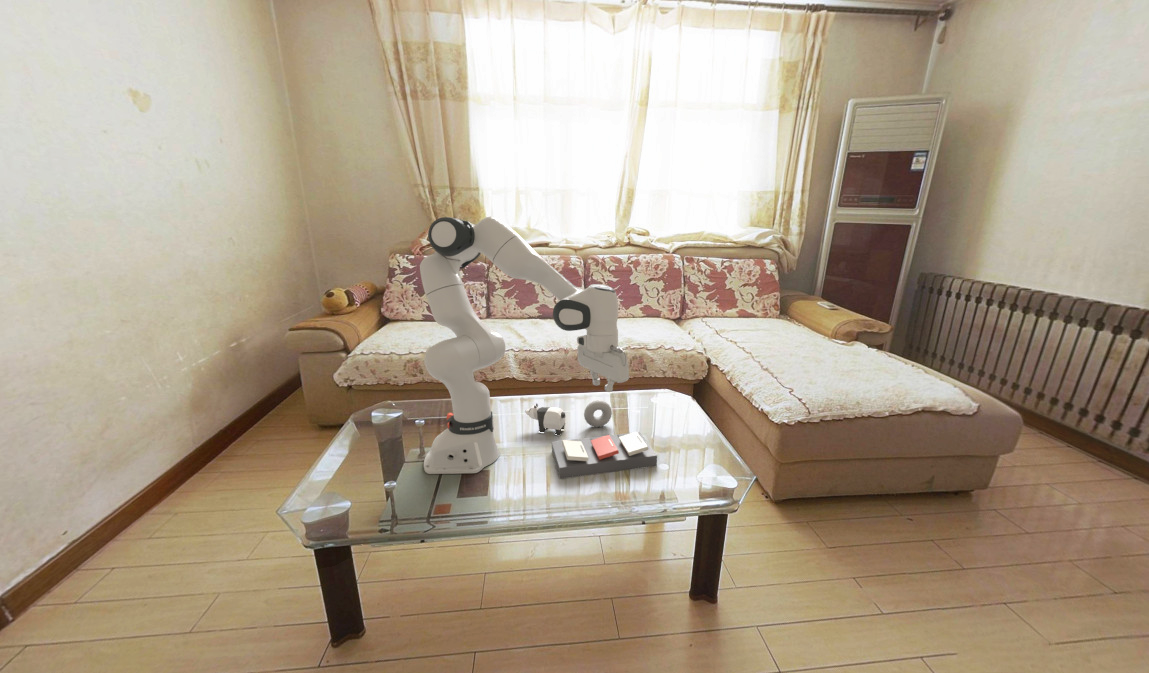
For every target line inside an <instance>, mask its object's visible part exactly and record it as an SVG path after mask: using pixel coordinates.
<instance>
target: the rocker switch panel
mask: <svg viewBox="0 0 1149 673" xmlns="http://www.w3.org/2000/svg"><path fill="white" fill-rule="evenodd" d="M637 432H638V434H639V435H640V436H641V438H642V439H643V441H644V442H645V443H646V445H647V446H648V450H646V451H643V452H640V453H637V454H634V455H631V456H629V455H628V453H627V452H626V450H625V448H624V447H623V445H622V444H621V442H620V440H619V437H620V436H624V435H627V434H630V433H631V432H628V433H627V432H626V433H617V434H609V435H610V437H611V439H612V440H613V442H614V444H615V445H616V447H617V449H618V452H619V454H616V455H613V456H610V457H606V458H603V459H600V460H599V458H598V456H597V454H596V452H595V450H594V448H593V446H592V444H591V440H593V439H596V438H600V437H603V436H604V435H602V436H593V437H584V438H575V439H569V440H570V441H581V442H582V444H583V446H584V448H585V451H586V453H587V455H588V457H589V458H588V461H577V460H567V457H566V454H565V451H564V449H563V446H562V440H557V441H551V453H552V456H553V459H554V464H555V467H556V470H557V475H558V477H559V480H561V479H562V480H564V479H570V478H574V477H575V478H576V477H577V478H578V477H585V476H591V475H593V476H594V475H599V474H606V473H616V472H623V471H630V470H638V469H644V468H653V467H658V454H657V453H656V452H655V450H654V449H653V448H652V447H651V445H650V444H649V443H648V441H647V440H646V439H645V437H644V436H643V435H642V433H641V432H640V431H637Z"/></svg>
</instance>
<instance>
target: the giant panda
mask: <svg viewBox="0 0 1149 673" xmlns="http://www.w3.org/2000/svg"><path fill="white" fill-rule="evenodd" d="M524 412H525V414H526V415H528V417H529V418H531V419H533V420H536V421H537V423H538V431H540V432H544V431H545V432H546V429H545V428H548V429H549V430H555V432H556V433H555V432H554V433H555V434H557V435H560V434H561V435H562V431H561V429H564V430H565V426H566V425H565V424H566V413H565V411H564V410H563V409H562V408H560V407H555V406H553V407H552V406H550V407H547V406H546V407H544V406H541V407H539V404H538V403H537V402H536V403H535V404H533V405H531V407H529V408H528V409H525V411H524ZM548 429H547V430H548ZM557 435H556V436H557ZM561 435H560V436H561Z"/></svg>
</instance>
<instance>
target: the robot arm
mask: <svg viewBox="0 0 1149 673" xmlns="http://www.w3.org/2000/svg"><path fill="white" fill-rule="evenodd" d="M427 238H428V242H429V244H430V246H431V247H432V249H433V250H434V253H432V254H428V255H427V256H426V257H424V258H423V259H422V260H421V262H420V264H419V274H420V278H421V283H422V287H423V292H424V294H425V297H426V299H427V302H428V306H429V309H430V311H431V313H432V314H431V315H432V316H433V317H432V318H433V319H434V321H435V322H436V323H437V324H438V325H440V326H442V327H445V328H448V329H449V330H451V331H452V332H453V334H455V336H456V337H451V338H449V339H444V340H441V341H439V342H438V343H435V344H433V345H432V346H430V347H428V348H427V350H426V352H425V354H424V360H423V362H424V366H425V369H426V372H428V374H429V376H431V377H432V378H434V379H435V380H437V381H440V382H441V383H442V384H443V385H444V386H445V388H446V389H447V390H448V392H449V393H448V394H449V395H450V401H451V406H452V412H448V413H447V415H446V426H447V428H446V429H444V430H443V431H442V432H441V433H439V434H438V435H437V436H436V437H435V438H434V440H433V442H432V443H431V447H430V450H429V451H428V452H427V453H426V454H425V457H424V461H423V471H424V472H425V473H426V474H428V475H441V474H442V475H446V474H447V475H449V474H456V475H457V474H477V473H479V472H480V471H482V470H483V469H485V467H487V466H489V465H491V464H493V463H495V461H497V460H498V459H499V457H500V451H499V448H498V445H497V443H496V442H497V441H496V438H495V434H494V428H495V425H494V415H493V411H492V409H491V408H492V407H491V396H490V390H489V389H488V386H486V385H485V384H484V383H482V382H480V381H476V379H475V376H474V372H476V371H478V370H481V369H484V368H488V367H491V366H492V365H493V364H495V363H497V362H498V361H500V360H502V358H504V356H505V354H506V342H505V339H504V338H503V337H502V335H501V333H499V332H498V331H495V330H494V329H491V328H490V327H489V326H487V325H486V324H485V323H484V322H483V321H482V320H481V319H480V317H479V316H478V315H477V313H476V312H475V310H474V308H473V306H472V304H471V301H470V298H469V297H468V296H469V295H468V294H467V291H466V289H465V285H464V283H463V281H462V276H461V274H460V269H462V270H463V269H464V268H466V267H467V266H468V265H470V264H471V263H473V262H474V261H476V260H478V259H479V257H480V256H481V255H483V256H485V257H486V258H487V259H488V260H489V261H491V263H492V264H493V265H494V266H495V267H496V268H497V269H499V270H500V272H502V273H504V274H505V275H507V276H508V277H510V278H512V279H514V280H516V279H517V280H524V281H529V282H533V283H536V284H539V285H541V286H542V287H544V288H545V290H547V291H548V292H550V294H552V295H553V296H554V297H555V298H556V299H558V301H557V302H556V303H555V305H554V307H553V309H552V318H553V321H554V323H555V324H556V326H557V327H558V328H560V329H561V330H563V331H567V332H572V331H573V332H574V331H580V330H585V331H586V334H585V335H581V336H580V335H579V336H577V338H576V342H577V343H576V344H578V345H577V362H578V364H579V366H580V367H582V368H584V369H587V370H589V375H590V377H591V379H592V383H591V384H592V385H594V386H600V385H601V379H600V378H599V375H600V376H602V377H604V378H606V382H607V383H606V384H604V391H606V392H607V393H611V392H613V390H614V384H615V383H617V384H620V383H625V382H627V381H629V379H630V368H629V367H630V366H629V360H628V355H627V354H626V353H625V350H624V349H623V348H621V347H619V330H618V324H617V322H618V319H619V303H618V302H619V301H618V295H617V291H616V290H615V289H614V288H613V287H611V286H609V285H606V284H598V283H597V284H596V283H595V284H590V285H589V286H588V287H586V288H584V289H583V288H580V287H577V286H576V285H575V284H573V283H572V282H571V281H570V280H569V279H568V278H566V277H565V276H564V275H563V274H561V272H559V271H558V270H557V269H556V268H555V267H553V266H552V265H551V264H549V263H548V262H547V261H546V259H544V258H543V257H542V256H541V255H540V254H539V253H538V252H537V251H536V250H535V249H534V248H533V247H532V246H531V245H530V244H529V243H528V242H527V241H526V240H525V239H524V238H523V237H522V236H521V235H520V234H519V233H518V232H516V231H515V230H514V229H513V228H511V227H510V226H509V225H508V224H506V223H505V222H503V221H502V220H501V219H499V218H498V217H494V216H486V217H484V218H482V219H481V220H479V221H478V222H477V224H475V225H472V223H471V222H470V221H467V220H465V219H459V218H456V217H451V216H450V217H449V216H447V217H446V216H445V217H439V218H437V219H436V220H433V222H432V223H431V224H430V225H429V228H428V233H427Z"/></svg>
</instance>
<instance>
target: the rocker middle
mask: <svg viewBox="0 0 1149 673" xmlns="http://www.w3.org/2000/svg"><path fill="white" fill-rule="evenodd" d="M610 435H611V434H607V435H602V436H603V437H600V438H596V439H593V440H591V444H592V446H593V448H594V450H595V452H596V454H597V456H598V458H599V460H600V459H603V458H606V457H610V456H613V455H616V454H619V452H618V449H617V447H616V445H615V444H614V442H613V440H612V439H611V437H610Z"/></svg>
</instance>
